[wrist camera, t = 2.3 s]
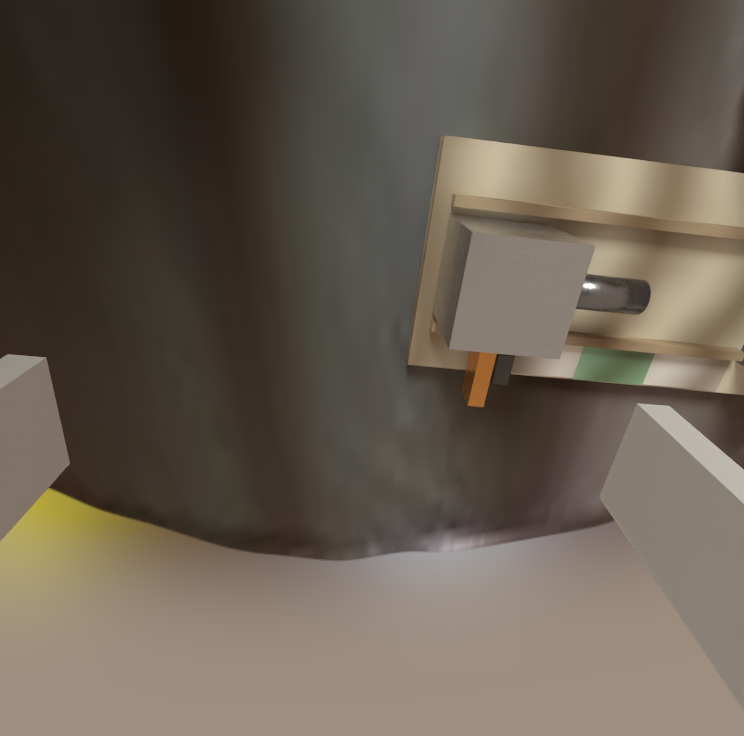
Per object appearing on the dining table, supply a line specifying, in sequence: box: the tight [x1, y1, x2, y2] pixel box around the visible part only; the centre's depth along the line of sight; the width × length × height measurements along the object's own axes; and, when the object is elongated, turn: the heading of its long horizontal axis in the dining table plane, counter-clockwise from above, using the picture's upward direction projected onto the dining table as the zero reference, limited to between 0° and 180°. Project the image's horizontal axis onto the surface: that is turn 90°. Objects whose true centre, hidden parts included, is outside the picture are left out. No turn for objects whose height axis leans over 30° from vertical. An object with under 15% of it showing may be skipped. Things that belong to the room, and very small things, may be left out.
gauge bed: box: [406, 135, 744, 395], centre depth 27 cm, size 26×14×7 cm, turn 84°
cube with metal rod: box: [433, 214, 651, 407], centre depth 27 cm, size 11×11×6 cm
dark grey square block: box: [490, 354, 515, 385], centre depth 30 cm, size 1×2×2 cm, turn 174°
